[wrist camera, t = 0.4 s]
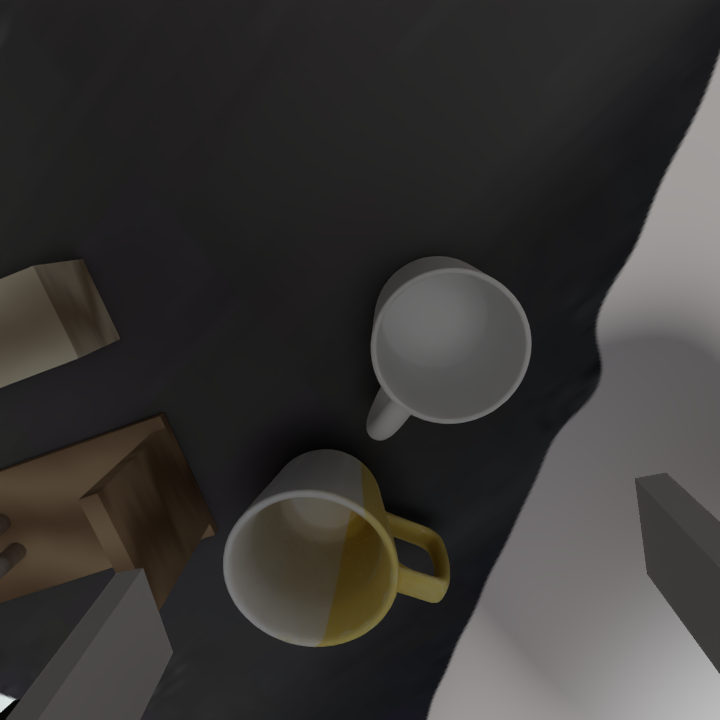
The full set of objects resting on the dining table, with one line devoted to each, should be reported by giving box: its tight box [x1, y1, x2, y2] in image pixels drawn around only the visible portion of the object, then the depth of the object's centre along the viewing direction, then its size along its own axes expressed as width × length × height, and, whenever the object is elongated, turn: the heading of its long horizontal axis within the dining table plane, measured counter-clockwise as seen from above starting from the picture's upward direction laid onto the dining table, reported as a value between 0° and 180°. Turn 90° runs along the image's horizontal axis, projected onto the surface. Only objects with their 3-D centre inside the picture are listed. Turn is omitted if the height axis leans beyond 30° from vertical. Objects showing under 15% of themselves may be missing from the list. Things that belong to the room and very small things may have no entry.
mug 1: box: [223, 449, 450, 647], centre depth 39 cm, size 14×10×10 cm
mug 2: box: [366, 256, 531, 440], centre depth 35 cm, size 12×8×10 cm
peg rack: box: [0, 413, 218, 612], centre depth 39 cm, size 10×19×11 cm, turn 110°
